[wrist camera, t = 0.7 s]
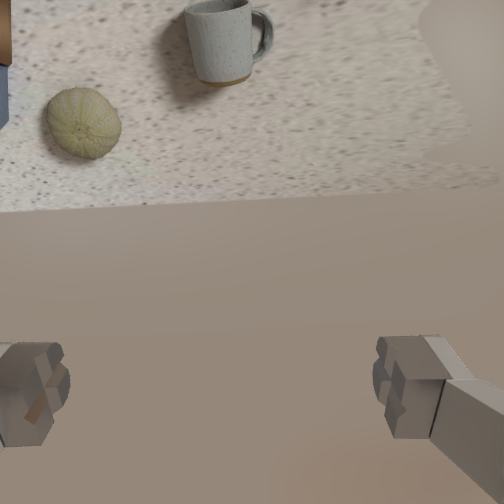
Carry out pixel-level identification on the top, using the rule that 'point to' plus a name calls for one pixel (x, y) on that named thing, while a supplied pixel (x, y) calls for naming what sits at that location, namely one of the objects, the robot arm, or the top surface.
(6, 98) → the blue stepped bracket
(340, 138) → the top surface
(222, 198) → the top surface
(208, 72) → the ceramic mug
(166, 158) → the top surface
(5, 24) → the stand
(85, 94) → the sea urchin shell
